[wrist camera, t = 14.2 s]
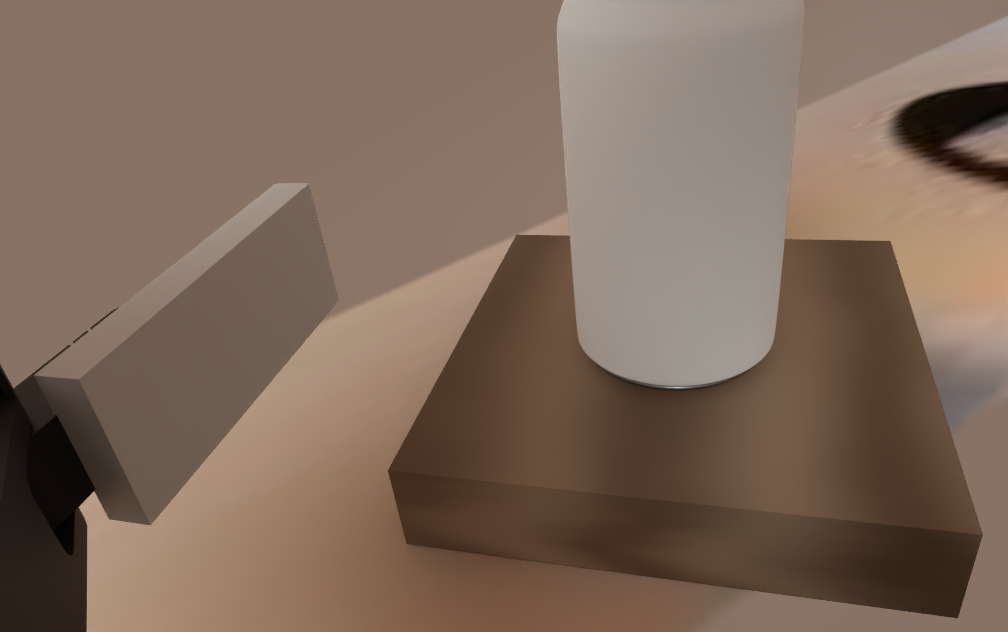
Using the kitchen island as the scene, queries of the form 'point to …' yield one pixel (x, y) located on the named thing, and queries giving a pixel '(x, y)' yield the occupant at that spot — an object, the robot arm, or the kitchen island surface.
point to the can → (678, 180)
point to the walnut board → (702, 445)
